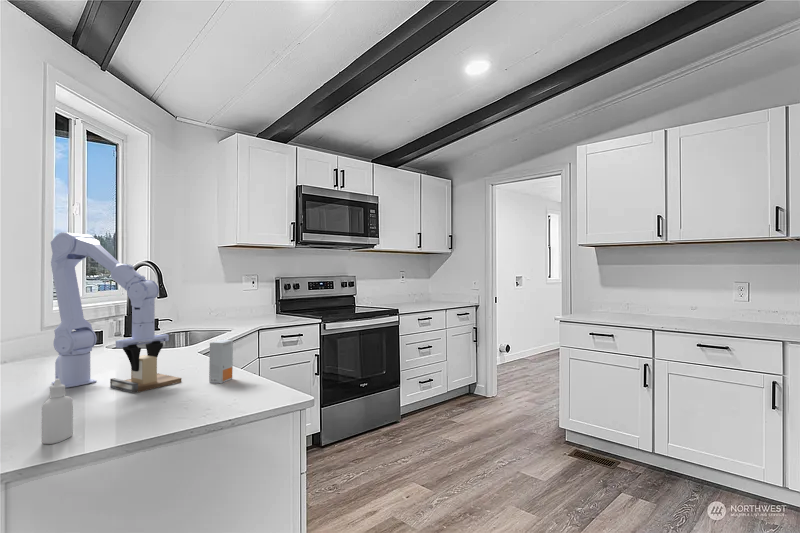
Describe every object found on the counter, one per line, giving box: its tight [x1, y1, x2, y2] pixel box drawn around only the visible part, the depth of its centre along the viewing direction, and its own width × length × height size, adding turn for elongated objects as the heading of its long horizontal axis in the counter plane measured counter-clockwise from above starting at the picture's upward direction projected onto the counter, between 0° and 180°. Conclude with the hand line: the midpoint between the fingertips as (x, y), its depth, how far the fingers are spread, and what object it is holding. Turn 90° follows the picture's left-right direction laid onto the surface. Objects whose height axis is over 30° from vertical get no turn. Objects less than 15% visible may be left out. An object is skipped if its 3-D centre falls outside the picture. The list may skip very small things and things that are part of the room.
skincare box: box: [208, 339, 234, 384], centre depth 139 cm, size 6×4×12 cm
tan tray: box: [109, 372, 182, 394], centre depth 134 cm, size 12×14×2 cm
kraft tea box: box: [130, 354, 158, 384], centre depth 134 cm, size 4×6×7 cm, turn 59°
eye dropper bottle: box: [41, 378, 74, 445], centre depth 92 cm, size 4×6×12 cm
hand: (143, 369), depth 134 cm, fingers open, 4 cm apart
